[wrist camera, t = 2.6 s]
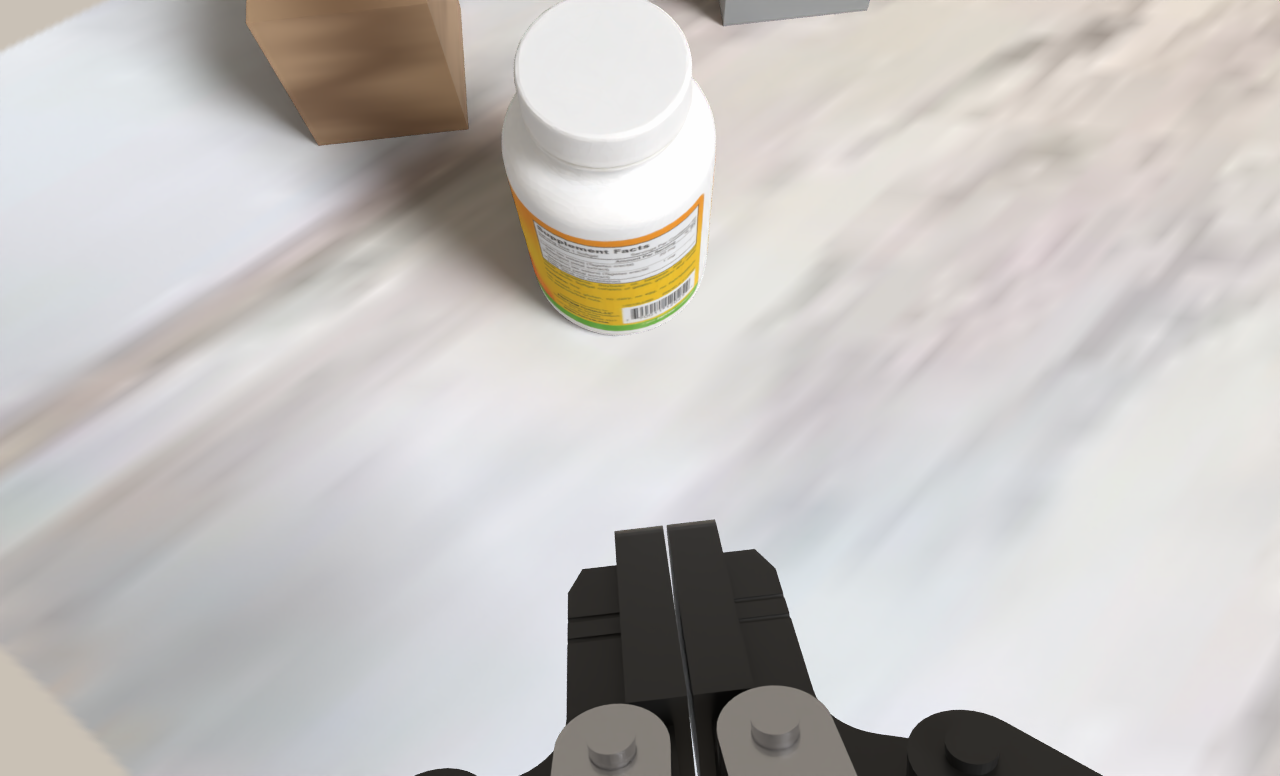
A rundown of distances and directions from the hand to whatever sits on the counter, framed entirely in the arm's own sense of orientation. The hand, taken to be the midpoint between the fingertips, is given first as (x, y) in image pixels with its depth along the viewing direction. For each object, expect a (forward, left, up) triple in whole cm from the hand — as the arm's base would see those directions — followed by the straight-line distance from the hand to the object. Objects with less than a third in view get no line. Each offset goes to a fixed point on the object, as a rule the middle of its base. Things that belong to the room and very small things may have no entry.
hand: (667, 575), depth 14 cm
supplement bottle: (0, +12, -13) cm, 18 cm away
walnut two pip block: (-7, +20, -13) cm, 25 cm away
